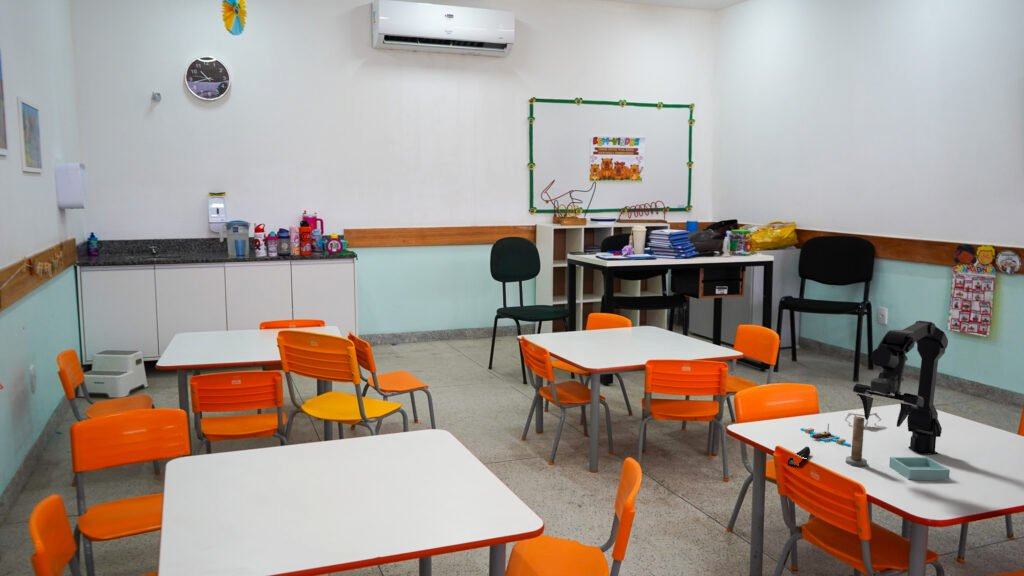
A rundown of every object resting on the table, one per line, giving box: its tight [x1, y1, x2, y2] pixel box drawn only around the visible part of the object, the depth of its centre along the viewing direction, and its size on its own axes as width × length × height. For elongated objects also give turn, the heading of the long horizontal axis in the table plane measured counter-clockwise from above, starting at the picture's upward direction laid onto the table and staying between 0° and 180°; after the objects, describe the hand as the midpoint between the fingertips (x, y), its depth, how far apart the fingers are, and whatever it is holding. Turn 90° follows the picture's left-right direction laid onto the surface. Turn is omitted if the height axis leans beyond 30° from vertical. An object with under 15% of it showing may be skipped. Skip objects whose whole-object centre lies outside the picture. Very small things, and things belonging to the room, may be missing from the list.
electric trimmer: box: [786, 446, 811, 468], centre depth 237 cm, size 4×15×3 cm, turn 142°
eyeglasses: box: [843, 410, 882, 430], centre depth 274 cm, size 12×8×5 cm
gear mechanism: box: [800, 422, 852, 447], centre depth 259 cm, size 20×5×9 cm
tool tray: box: [889, 456, 951, 481], centre depth 227 cm, size 12×11×3 cm
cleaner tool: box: [845, 416, 868, 468], centre depth 234 cm, size 6×6×15 cm
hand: (881, 423), depth 224 cm, fingers open, 9 cm apart
